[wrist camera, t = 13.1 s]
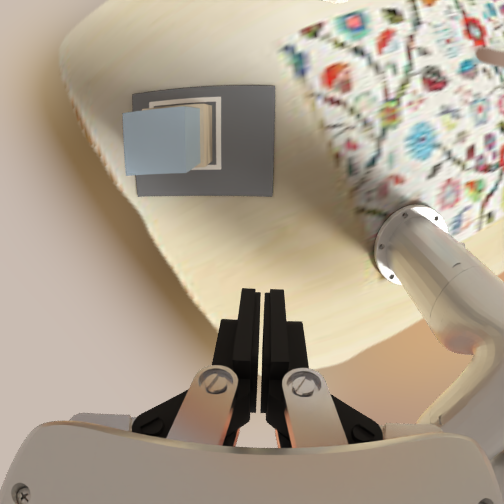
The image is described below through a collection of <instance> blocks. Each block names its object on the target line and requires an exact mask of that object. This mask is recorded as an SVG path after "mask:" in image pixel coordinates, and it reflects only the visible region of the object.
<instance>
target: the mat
mask: <svg viewBox="0 0 504 504" xmlns="http://www.w3.org/2000/svg"><path fill="white" fill-rule="evenodd" d="M132 99H133V112H135V111H142V109H147V108H156V107H165V106H176V105H189V104H207V105H212V162H210V163H209V164H208V165H207V166H206V167H197V168H193V169H191V170H190V171H188V172H187V173H170V174H147V175H136V182H137V193H138V197H141V196H268V197H272V194H273V162H274V122H275V86H260V85H235V86H207V87H191V88H179V89H169V90H160V91H152V92H145V93H138V94H132Z"/></svg>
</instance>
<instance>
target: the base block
mask: <svg viewBox="0 0 504 504" xmlns="http://www.w3.org/2000/svg"><path fill="white" fill-rule="evenodd" d="M183 106H186V107H194V108H200V164H198V165H197V166H195V167H194V168H197V167H206V166H207V165H208V164H209V163H210V162H212V105H207V104H189V105H176V106H165V107H156V108H147V109H142V111H143V110H151V109H160V108H171V107H183Z"/></svg>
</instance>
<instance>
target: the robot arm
mask: <svg viewBox="0 0 504 504" xmlns="http://www.w3.org/2000/svg"><path fill="white" fill-rule="evenodd" d="M403 213H404V214H403ZM380 244H381V245H380ZM374 257H375V262H376V265H377V267H378V269H379V271H380V272H381V274H382V275H383V276H384V277H385V278H386V279H387V280H388V281H390V282H392V283H395V284H399V285H403V287H404V288H405V290H406V291H407V293H408V294H409V296H410V297H411V299H412V300H413V302H414V303H415V305H416V306H417V308H418V310H419V311H420V313H421V314H422V316H423V317H424V319H425V320H426V322H427V324H428V325H429V327H430V329H431V330H432V332H433V334H434V335H435V337H436V338H437V340H438V341H439V343H440V344H441V345H442V346H443V347H445V348H446V349H448V350H449V351H452V352H454V353H459V354H465V355H474V356H473V358H472V360H471V362H470V363H469V364H468V366H467V367H466V368H465V369H464V370H463V372H462V373H461V375H460V376H459V377H458V378H457V379H456V380H455V381H454V382H453V383H452V384H451V385H450V386H449V387H448V388H447V389H446V390H445V391H444V392H443V393H442V394H441V395H440V396H439V397H438V398H437V399H436V400H435V401H434V402H433V403H432V404H431V405H430V406H429V407H428V408H427V409H426V410H425V411H424V412H423V414H422V415H421V416H420V417H419V419H418V420H417V422H416V423H415V424H392V423H386V424H385V425H384V426H382V425H381V426H380V425H378V424H377V423H376V422H375V421H373V420H372V419H370V418H368V417H366V416H365V415H363V414H362V413H360V412H358V411H357V410H355V409H353V408H352V407H350V406H348V405H347V404H345V403H344V402H342V401H341V400H339V399H337V398H336V397H334V396H333V395H331V394H330V392H329V389H328V386H327V384H326V381H325V379H324V377H323V376H322V375H321V374H320V373H319V372H317V371H315V370H313V369H309V366H308V359H307V351H306V344H305V337H304V330H303V324H302V322H296V321H286V311H285V299H284V290H278V289H270V293H265V302H264V325H263V347H262V382H261V413H266V421H267V423H269V424H270V425H271V426H272V427H274V428H275V435H276V440H277V445H278V448H247V447H235V446H236V442H237V439H238V436H239V431H240V427H242V426H243V425H244V424H246V423H247V422H249V420H250V412H252V413H253V412H254V413H256V398H257V376H258V352H259V325H260V296H261V293H260V292H255V289H246V288H242V292H241V300H240V307H239V314H238V320H230V319H222V320H221V323H220V328H219V333H218V338H217V342H216V347H215V352H214V358H213V362H212V366H207V367H205V368H202V369H201V370H200V371H199V372H198V373H197V374H196V375H195V377H194V379H193V381H192V383H191V385H190V388H189V389H188V390H186V391H185V392H183V393H181V394H179V395H177V396H175V397H173V398H171V399H170V400H168V401H166V402H164V403H162V404H160V405H158V406H156V407H154V408H152V409H150V410H148V411H147V412H144V413H142V414H141V415H139V416H138V417H134V418H133V417H131V416H130V415H114V414H93V413H79V414H77V415H74V416H73V417H72V418H71V419H70V420H69V421H53V422H47V423H43V424H41V425H39V426H37V427H36V428H34V429H33V430H32V431H31V432H30V434H29V435H28V436H27V437H26V439H25V440H24V442H23V443H22V445H21V447H20V448H19V450H18V452H17V454H16V456H15V458H14V460H13V462H12V464H11V466H10V468H9V470H8V472H7V475H6V477H5V480H4V482H3V485H2V487H1V490H0V504H504V282H503V281H502V280H501V279H500V278H499V277H498V276H497V275H495V274H494V273H493V272H492V271H491V270H490V269H489V268H488V267H487V266H486V265H484V264H483V263H482V262H481V261H480V260H479V259H478V258H477V257H475V256H474V255H473V254H472V253H471V252H470V251H468V250H467V249H466V248H465V244H464V243H460V242H458V241H456V240H455V239H454V238H453V237H452V236H450V235H449V234H448V230H447V226H446V224H445V221H444V220H443V218H442V217H441V215H440V214H438V213H437V212H436V211H435V210H433V209H432V208H430V207H428V206H425V205H418V204H416V205H409V206H406V207H403V208H401V209H399V210H398V211H396V212H395V213H393V214H392V215H391V216H390V217H389V218H388V219H387V220H386V221H385V222H384V224H383V225H382V227H381V229H380V230H379V232H378V235H377V237H376V241H375V245H374Z"/></svg>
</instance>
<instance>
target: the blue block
mask: <svg viewBox="0 0 504 504" xmlns="http://www.w3.org/2000/svg"><path fill="white" fill-rule="evenodd" d="M123 137H124V154H125V168H126V176H129V175H147V174H170V173H187V172H188V171H190V170H191V169H193V168H194V167H195V166H197V165H198V164H200V108H194V107H186V106H183V107H171V108H160V109H151V110H143V111H135V112H128V113H123Z"/></svg>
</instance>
